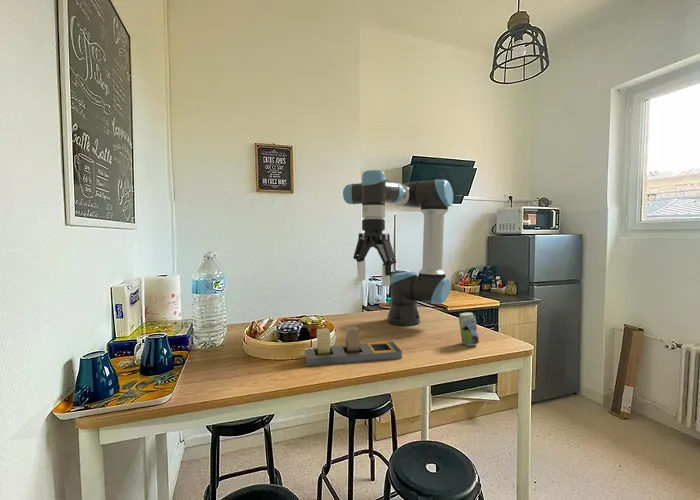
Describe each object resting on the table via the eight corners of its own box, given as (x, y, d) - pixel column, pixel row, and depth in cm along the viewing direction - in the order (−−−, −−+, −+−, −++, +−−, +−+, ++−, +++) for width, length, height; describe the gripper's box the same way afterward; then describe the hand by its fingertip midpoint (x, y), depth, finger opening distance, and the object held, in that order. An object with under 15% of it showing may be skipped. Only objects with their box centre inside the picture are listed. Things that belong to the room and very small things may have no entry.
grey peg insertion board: (304, 355, 122) (304, 347, 121) (392, 348, 128) (392, 341, 127) (306, 366, 112) (306, 358, 112) (401, 358, 118) (401, 350, 118)
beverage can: (480, 347, 127) (480, 315, 127) (459, 346, 129) (459, 314, 128) (477, 342, 134) (478, 311, 133) (457, 341, 135) (457, 310, 134)
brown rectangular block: (345, 355, 121) (345, 327, 121) (357, 354, 122) (356, 326, 121) (347, 359, 117) (347, 330, 117) (359, 358, 118) (359, 329, 117)
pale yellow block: (317, 357, 119) (316, 329, 119) (328, 356, 120) (328, 328, 119) (318, 362, 116) (317, 332, 115) (330, 361, 116) (329, 331, 116)
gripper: (343, 219, 123) (343, 279, 124) (388, 217, 102) (388, 289, 103) (361, 219, 127) (361, 277, 128) (407, 217, 106) (407, 287, 107)
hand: (373, 282), depth 115 cm, fingers open, 13 cm apart
